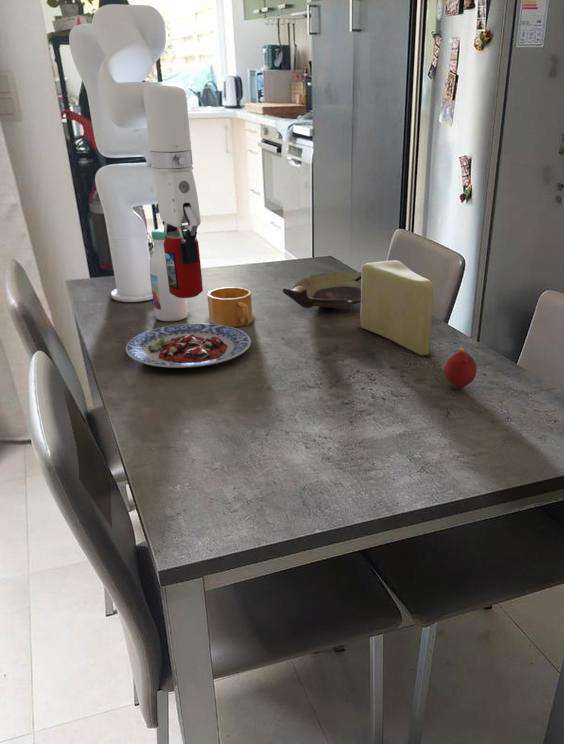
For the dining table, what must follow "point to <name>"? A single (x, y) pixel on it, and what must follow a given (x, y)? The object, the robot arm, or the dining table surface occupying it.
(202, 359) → the ceramic plate
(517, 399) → the dining table surface
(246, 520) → the dining table surface
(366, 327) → the cheese
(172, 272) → the beverage can
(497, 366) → the dining table surface
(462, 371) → the onion
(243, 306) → the mug
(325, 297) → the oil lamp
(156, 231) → the milk bottle
